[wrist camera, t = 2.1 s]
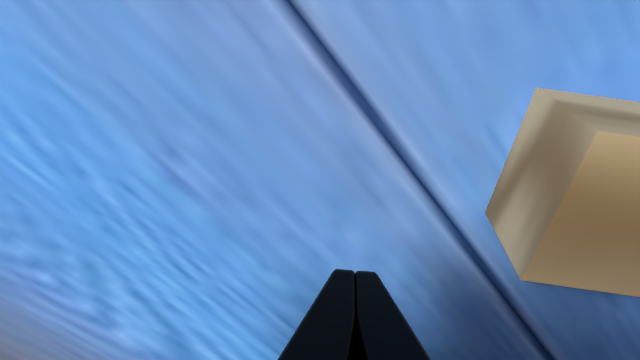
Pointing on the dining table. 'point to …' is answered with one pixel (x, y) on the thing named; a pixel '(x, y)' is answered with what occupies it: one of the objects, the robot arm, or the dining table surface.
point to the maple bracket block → (573, 193)
